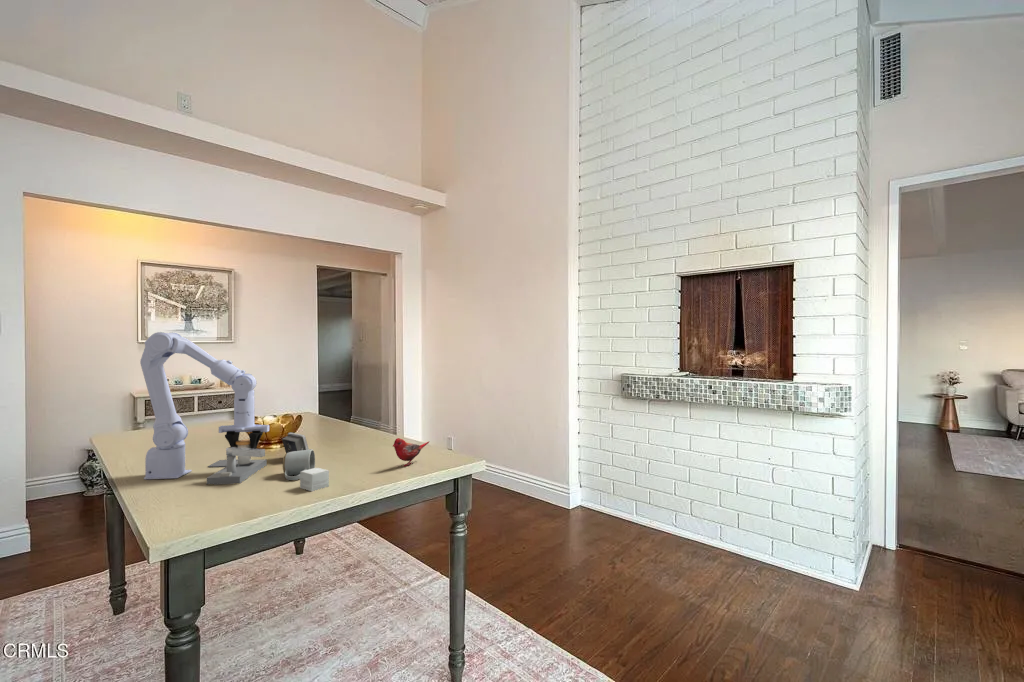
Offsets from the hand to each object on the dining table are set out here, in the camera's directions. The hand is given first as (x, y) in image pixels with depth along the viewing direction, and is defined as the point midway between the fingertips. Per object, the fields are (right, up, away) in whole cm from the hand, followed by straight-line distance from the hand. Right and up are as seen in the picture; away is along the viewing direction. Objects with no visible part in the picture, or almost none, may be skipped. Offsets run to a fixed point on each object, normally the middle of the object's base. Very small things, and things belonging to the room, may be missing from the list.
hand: (244, 454), depth 150 cm
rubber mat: (-11, -5, +8) cm, 14 cm away
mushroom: (0, -3, 0) cm, 3 cm away
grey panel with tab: (+1, -5, -4) cm, 7 cm away
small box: (+29, -6, -16) cm, 34 cm away
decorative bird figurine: (+52, -6, +8) cm, 53 cm away
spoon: (+6, +2, -10) cm, 12 cm away
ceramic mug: (+20, -6, -5) cm, 21 cm away
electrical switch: (+10, -5, +14) cm, 19 cm away
